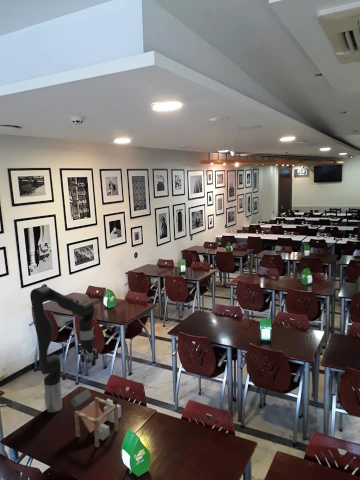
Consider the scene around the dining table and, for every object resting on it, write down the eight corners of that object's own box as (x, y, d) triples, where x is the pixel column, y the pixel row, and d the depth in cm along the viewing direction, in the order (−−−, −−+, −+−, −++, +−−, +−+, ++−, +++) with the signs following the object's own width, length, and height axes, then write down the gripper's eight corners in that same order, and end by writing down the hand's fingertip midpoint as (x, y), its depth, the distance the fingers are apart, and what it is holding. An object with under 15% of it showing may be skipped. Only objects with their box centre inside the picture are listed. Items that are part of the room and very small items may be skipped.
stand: (76, 436, 195) (74, 411, 193) (98, 420, 208) (96, 396, 206) (97, 447, 186) (95, 421, 184) (118, 430, 199) (117, 405, 197)
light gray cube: (95, 428, 193) (102, 431, 190) (102, 423, 197) (109, 426, 194) (96, 437, 194) (102, 440, 191) (103, 431, 198) (109, 435, 195)
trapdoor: (69, 401, 197) (72, 398, 195) (86, 390, 207) (89, 387, 205) (88, 434, 192) (92, 431, 190) (105, 421, 201) (108, 418, 199)
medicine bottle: (112, 412, 215) (111, 393, 213) (121, 416, 211) (120, 397, 209) (103, 419, 209) (102, 399, 207) (112, 423, 205) (111, 403, 203)
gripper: (72, 336, 204) (74, 363, 207) (90, 342, 196) (92, 370, 199) (83, 331, 210) (84, 358, 213) (100, 337, 203) (102, 364, 205)
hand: (88, 363), depth 206 cm, fingers open, 8 cm apart
